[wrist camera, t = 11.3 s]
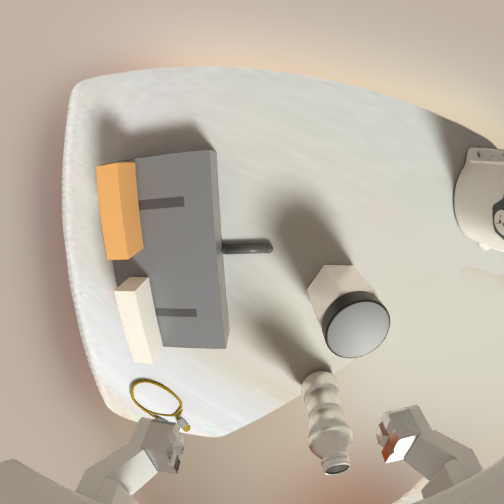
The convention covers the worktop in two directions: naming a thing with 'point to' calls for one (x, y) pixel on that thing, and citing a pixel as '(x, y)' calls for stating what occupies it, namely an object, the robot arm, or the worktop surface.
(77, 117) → the worktop surface
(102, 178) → the orange switch
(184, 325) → the switch box
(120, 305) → the white switch
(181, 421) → the extension cord
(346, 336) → the jar
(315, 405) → the plastic bottle
